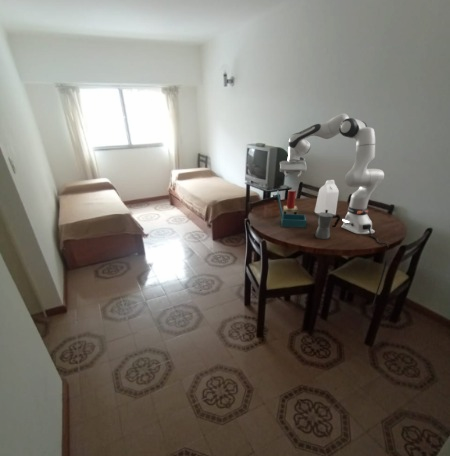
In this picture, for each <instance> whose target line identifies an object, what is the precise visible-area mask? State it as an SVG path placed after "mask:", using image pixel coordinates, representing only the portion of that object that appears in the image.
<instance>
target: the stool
mask: <svg viewBox="0 0 450 456" xmlns="http://www.w3.org/2000/svg"><path fill="white" fill-rule="evenodd" d="M298 212H299V211H298V205H294V208H293V209H288V208H287V205H283V214H287V213H293V214H298Z"/></svg>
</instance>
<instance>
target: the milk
mask: <svg viewBox="0 0 450 456" xmlns="http://www.w3.org/2000/svg"><path fill="white" fill-rule="evenodd" d="M339 194H340V191H339V188H338V186H337V185H336V182H335V179H327V180H326V181H325V183H324V185H322V186H321V187H320V188H319V190H318V193H317V198H316V202H315V207H314V214H316V213H321V212H325V210H328V212H327V213H332V214H336V215H337V209H338V203H339V202H338V201H339Z"/></svg>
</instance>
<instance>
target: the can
mask: <svg viewBox="0 0 450 456" xmlns="http://www.w3.org/2000/svg"><path fill="white" fill-rule="evenodd" d="M287 191H288V192H287V201H286V206H287V208H288V209H293V208H294V206H296V205H295V204H296V195H297V190H296V189H289V190H287Z"/></svg>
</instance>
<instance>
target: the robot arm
mask: <svg viewBox="0 0 450 456" xmlns="http://www.w3.org/2000/svg"><path fill="white" fill-rule="evenodd" d="M339 134H341V136H343V137H345V138H349V139H355V158H354V162H353V166H352V167H351V169H350V170H349V171H347V173H346V174H345V176H344V183H345V185H346V186H347V187H351V188H358V189H357V190H356V191H354V192H353V193H352V194H351V195H350V201H349V205H348V207H347V213H346V215H345V217H344V218H342V222H343V223H342V225H341V228H342V229H344V230H347V231H349V232H351V233H354V234H356V235H369V237H370V238H372V239H375V240H376V241H377V243H379V244H382V245H385V246H386V247H387V248H389V247H390V246H389V244H388V243H386V242H385V241H384V242H383V241H379V239H378V238H377V237H376V236H373V235H372V234H374V233H375V232H376V230H374V229H373V222H372V220H371V219H370V217H369V215H368V204H369V201H370V197H371V195H372V194H373V192H374V191H375V190H376V188H377V187H378V186H380V185H381V184H382V183H383V182H384V179H385V172H384V170H382V169H380V168H368V165H369V163H371V162H372V161H373V160H374V159H375V157H376V133H375V129H374V127H371V126H368V125H367V123H366V122H365V121H363V120H360V119H358V118H353V117H350V116H349V115H348V114H347V113H340V114H337V115H336V116H334V117H332V118H330V119H329V120H327V121H325V122H322V123H315V124H313V125H311V126H309V127H307V128H304V129H303V130H301V131H299V132H295V133H293V134H291V135H290V136H289V138H288V141H287V142H288V149H287V155H288V156H287V160H281V161H279V172H280V173H283V174H284V175H285V178H286V177H288V176H289V175H288V174H289V173H298V174H297V177H298V178H300V177H301V175H302V173H306V172H307V169H308V168H307V167H308V166H307V163H306V158H305V157H302V156H304V155H306V154H308V153H309V152H310V150H311V143H310V142H309V141H308V140H307V139H308V138H309V137H313V136H314V137H319V138H322V139H325V140H329V139H332V138H334V137H336V136H337V135H339ZM387 262H388V261H384V265H383V269H382V273H381V276H380V279H379V282H378V285H377V289H376V292H375V295H374V298H373V301H372V304H371V308H374V306H375V303H376V299H377V297H378V293H379V290H380V287H381V284H382V281H383V277H384V274H385V271H386V267H387Z"/></svg>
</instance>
